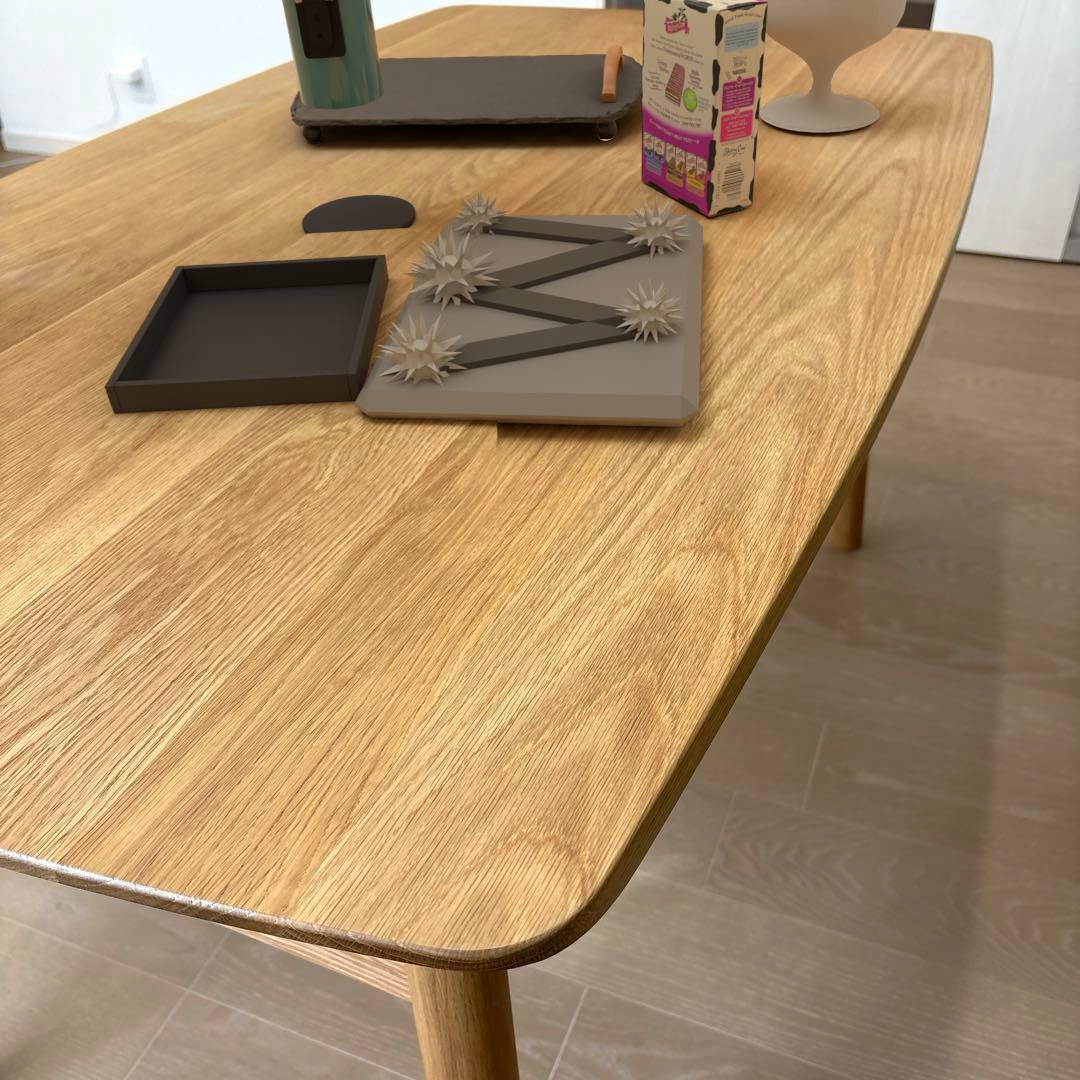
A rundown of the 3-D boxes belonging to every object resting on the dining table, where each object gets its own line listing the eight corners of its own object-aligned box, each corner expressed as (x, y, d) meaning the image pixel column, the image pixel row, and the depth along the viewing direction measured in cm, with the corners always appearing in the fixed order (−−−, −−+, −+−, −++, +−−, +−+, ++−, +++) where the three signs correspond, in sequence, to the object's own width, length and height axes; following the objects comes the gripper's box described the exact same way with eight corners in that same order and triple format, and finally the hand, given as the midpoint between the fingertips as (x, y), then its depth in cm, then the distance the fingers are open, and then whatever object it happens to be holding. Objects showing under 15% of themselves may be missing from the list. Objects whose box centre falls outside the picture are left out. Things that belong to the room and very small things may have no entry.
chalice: (917, 123, 107) (945, -45, 97) (797, 149, 103) (814, -24, 94) (836, 88, 117) (854, -67, 108) (724, 110, 113) (732, -49, 104)
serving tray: (655, 79, 123) (656, 20, 119) (643, 147, 106) (643, 82, 102) (333, 84, 129) (324, 28, 125) (270, 150, 111) (257, 88, 107)
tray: (117, 423, 70) (104, 386, 68) (185, 299, 84) (176, 265, 82) (362, 410, 70) (356, 373, 68) (390, 287, 84) (385, 254, 82)
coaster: (294, 247, 91) (293, 242, 91) (312, 203, 99) (311, 197, 98) (411, 241, 91) (410, 235, 90) (420, 197, 98) (419, 191, 98)
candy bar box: (756, 207, 92) (772, -1, 82) (708, 220, 91) (718, 10, 81) (683, 169, 100) (689, -24, 90) (638, 181, 99) (639, -15, 88)
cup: (295, 112, 86) (270, -12, 80) (308, 87, 91) (286, -32, 85) (379, 106, 85) (360, -19, 80) (387, 81, 91) (370, -38, 85)
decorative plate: (697, 441, 65) (702, 335, 60) (354, 432, 68) (335, 331, 63) (702, 238, 88) (706, 151, 83) (446, 238, 91) (437, 154, 86)
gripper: (257, -234, 81) (304, 20, 92) (203, -216, 68) (266, 78, 79) (355, -241, 81) (390, 14, 92) (321, -225, 68) (367, 71, 79)
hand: (332, 41), depth 85 cm, fingers closed on cup, 6 cm apart
